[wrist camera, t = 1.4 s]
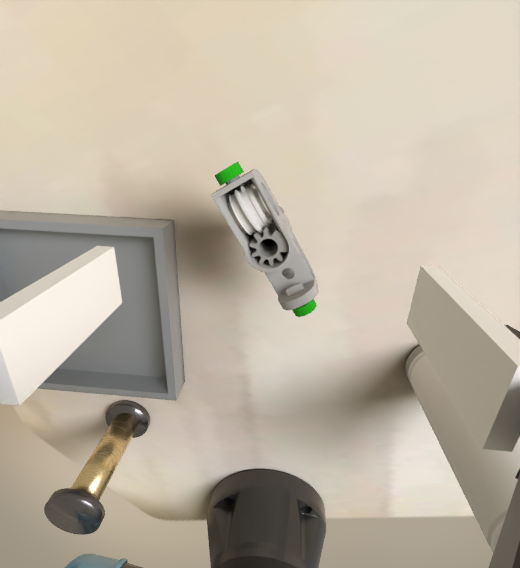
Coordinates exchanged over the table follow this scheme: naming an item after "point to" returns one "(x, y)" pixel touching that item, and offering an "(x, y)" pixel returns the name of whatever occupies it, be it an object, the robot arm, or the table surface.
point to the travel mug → (466, 450)
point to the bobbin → (97, 472)
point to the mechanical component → (266, 237)
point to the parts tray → (127, 317)
